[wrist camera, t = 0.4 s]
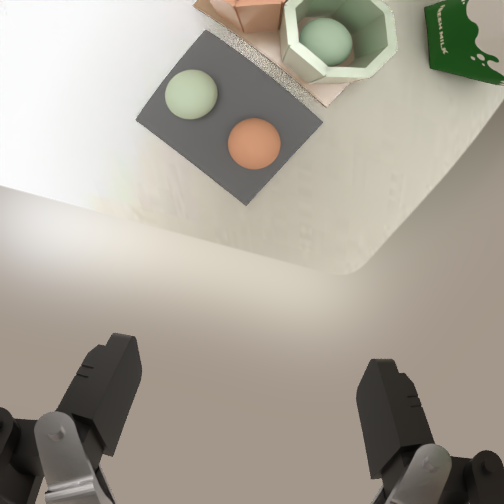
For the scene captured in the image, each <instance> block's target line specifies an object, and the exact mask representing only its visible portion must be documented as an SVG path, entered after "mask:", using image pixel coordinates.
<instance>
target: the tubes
mask: <svg viewBox="0 0 504 504" xmlns="http://www.w3.org/2000/svg"><path fill="white" fill-rule="evenodd" d="M193 6H194V7H195V8H197V9H198V10H200V11H201V12H203V13H204V14H206V15H208V16H209V17H211V18H212V19H214V20H215V21H217V22H218V23H220V24H221V25H223V26H224V27H226V28H227V29H229V30H230V31H231V32H233V33H234V34H236V35H237V36H239V37H240V38H241V39H243V40H244V41H245V42H247V43H248V44H250V45H251V46H252V47H254V48H255V49H256V50H258V51H259V52H260V53H262V54H263V55H264V56H265V57H267V58H268V59H269V60H271V61H272V62H273V63H274V64H276V65H277V66H278V67H279V68H281V69H282V70H283V71H284V72H286V73H287V74H288V75H289V76H290V77H292V78H293V79H294V80H295V81H296V82H298V83H299V84H300V85H301V86H302V87H303V88H305V89H306V90H307V91H308V92H309V93H310V94H311V95H313V96H314V97H315V98H316V99H317V100H318V101H319V102H320V103H321V104H323V105H324V106H325V107H327V106H328V105H329V104H330V103H331V102H332V101H333V100H334V99H335V98H336V97H337V96H338V95H339V94H340V93H341V92H342V91H343V90H344V89H345V88H346V87H347V86H348V85H349V84H350V83H351V81H357V80H362V79H368V78H371V77H372V76H373V75H374V74H375V73H376V72H377V71H378V70H379V69H380V68H381V67H382V66H383V65H384V64H385V63H386V62H387V61H388V60H389V59H390V58H391V57H392V56H393V55H394V54H395V53H396V52H397V51H396V50H398V46H397V37H396V28H395V20H394V13H393V12H392V9H391V8H390V7H389V6H388V5H387V4H386V3H384V2H383V1H382V0H197V1H196V2H195V4H194V5H193ZM318 18H329V19H333V20H336V21H338V22H339V23H341V24H342V25H344V26H345V27H346V29H347V30H348V31H349V33H350V35H351V38H352V50H351V53H350V55H349V56H348V58H347V59H346V60H344V61H343V62H342V63H340V64H338V65H335V66H327V65H326V64H325V63H324V62H323V61H321V60H320V59H319V58H318V57H317V56H316V55H314V54H313V53H312V52H311V51H310V50H308V49H307V48H306V47H305V46H304V45H302V44H301V43H300V42H299V36H300V32H301V30H302V29H303V27H304V26H305V25H306V24H307V23H308V22H310V21H312V20H314V19H318Z"/></svg>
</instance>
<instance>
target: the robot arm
mask: <svg viewBox="0 0 504 504" xmlns="http://www.w3.org/2000/svg"><path fill="white" fill-rule="evenodd" d="M76 374H77V375H76V376H75V377H74V379H73V380H72V382H71V384H70V386H69V388H68V389H67V391H66V393H65V395H64V397H63V399H62V401H61V403H60V405H59V406H58V408H57V409H56V411H55V412H49V413H46V414H44V415H43V416H41V417H40V418H39V420H25V419H14V418H13V417H12V415H11V414H10V413H9V412H8V411H7V410H6V409H4V408H1V407H0V504H35V501H36V498H37V495H38V492H39V489H40V486H41V483H42V480H43V477H45V479H46V482H47V486H48V491H47V492H45V501H46V504H117V502H116V500H115V497H114V495H113V493H112V491H111V489H110V487H109V484H108V482H107V480H106V477H105V475H104V473H103V470H102V468H101V465H100V460H101V457H102V454H105V455H108V456H112V457H113V455H114V452H115V449H116V446H117V444H118V441H119V438H120V435H121V432H122V429H123V427H124V424H125V421H126V419H127V416H128V413H129V410H130V408H131V405H132V402H133V400H134V397H135V394H136V392H137V389H138V387H139V384H140V381H141V376H142V365H141V361H140V356H139V351H138V345H137V340H136V338H135V337H134V336H130V335H124V334H118V333H113V334H112V335H111V337H110V339H109V340H108V342H107V344H106V346H104V345H97V346H96V347H95V348H94V349H92V350H91V351H90V352H89V353H88V354H87V356H86V357H85V359H84V361H83V363H82V366H81V367H80V368H79V370H78V371H77V373H76ZM356 401H357V407H358V412H359V417H360V422H361V427H362V431H363V437H364V442H365V447H366V453H367V458H368V464H369V470H370V476H371V479H379V478H382V480H383V485H382V486H381V488H380V489H379V491H378V493H377V494H376V496H375V498H374V499H373V501H372V502H371V504H469V503H470V504H504V467H503V464H502V461H501V459H500V458H499V456H498V455H497V454H496V453H494V452H492V451H487V450H485V451H481V452H479V453H478V454H477V455H475V456H474V457H473V458H472V459H469V458H460V457H453V456H450V455H449V453H448V451H447V450H446V449H444V448H443V447H442V446H440V445H437V444H435V442H434V440H433V437H432V434H431V431H430V428H429V425H428V422H427V419H426V416H425V413H424V411H423V408H422V407H421V402H420V399H419V398H418V394H417V391H416V389H415V386H414V383H413V382H412V381H411V380H410V379H409V378H408V377H407V375H406V374H405V373H399V372H398V369H397V366H396V364H395V361H394V360H393V359H371V360H370V362H369V364H368V366H367V369H366V371H365V373H364V375H363V377H362V379H361V382H360V384H359V386H358V389H357V395H356Z"/></svg>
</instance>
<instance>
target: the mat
mask: <svg viewBox="0 0 504 504" xmlns="http://www.w3.org/2000/svg"><path fill="white" fill-rule="evenodd" d="M185 70H200V71H203V72H205V73H207V74H208V75H209V76H210V77H211V78H212V79H213V80H214V82H215V84H216V86H217V91H218V96H217V101H216V103H215V105H214V107H213V108H212V110H211V111H210V112H209V113H207V114H206V115H204V116H203V117H200V118H197V119H183V118H180V117H178V116H176V115H175V114H173V113H172V112H171V111H170V109H169V108H168V106H167V104H166V100H165V91H166V88H167V85H168V83H169V82H170V80H171V79H172V78H173V77H174V76H175V75H177V74H178V73H180V72H182V71H185ZM250 118H259V119H263V120H265V121H267V122H269V123H270V124H272V125H273V126H274V127H275V129H276V130H277V132H278V134H279V136H280V141H281V146H280V151H279V154H278V156H277V158H276V159H275V160H274V161H273V162H272V163H271V164H270V165H268V166H266V167H264V168H261V169H248V168H244V167H242V166H240V165H239V164H237V163H236V162H235V161H234V159H233V158H232V157H231V155H230V153H229V149H228V138H229V135H230V133H231V131H232V129H233V128H234V127H235V126H236V125H237V124H238V123H239V122H241V121H243V120H245V119H250ZM136 121H138V122H139V123H140V124H142V125H143V126H144V127H146V128H147V129H148V130H150V131H151V132H152V133H154V134H155V135H156V136H158V137H159V138H160V139H161V140H163V141H164V142H165V143H167V144H168V145H169V146H171V147H172V148H173V149H175V150H176V151H177V152H178V153H180V154H181V155H182V156H184V157H185V158H186V159H187V160H189V161H190V162H191V163H193V164H194V165H195V166H196V167H198V168H199V169H200V170H202V171H203V172H204V173H205V174H207V175H208V176H209V177H210V178H212V179H213V180H214V181H215V182H217V183H218V184H219V185H221V186H222V187H223V188H224V189H226V190H227V191H228V192H229V193H231V194H232V195H233V196H234V197H236V198H237V199H238V200H239V201H241V202H242V203H243V204H244V205H246V206H247V204H248V203H249V202H250V201H251V200H252V199H253V198H254V197H255V196H256V194H257V193H258V192H259V191H260V190H261V189H262V188H263V187H264V186H265V185H266V183H267V182H268V181H269V180H270V179H271V178H272V177H273V176H274V175H275V174H276V172H277V171H278V170H279V169H280V168H281V167H282V166H283V165H284V164H285V163H286V162H287V161H288V159H289V158H290V157H291V156H292V155H293V154H294V153H295V152H296V151H297V150H298V149H299V148H300V147H301V145H302V144H303V143H304V142H305V141H306V140H307V139H308V138H309V137H310V136H311V135H312V134H313V133H314V132H315V131H316V130H317V128H318V127H319V126H320V125H321V124H322V123H323V122H322V121H321V120H320V119H319V118H318V117H317V116H316V115H314V114H313V113H312V112H311V111H310V110H309V109H308V108H307V107H305V106H304V105H303V104H302V103H301V102H300V101H299V100H297V99H296V98H295V97H294V96H293V95H292V94H290V93H289V92H288V91H287V90H286V89H284V88H283V87H282V86H281V85H280V84H278V83H277V82H276V81H275V80H274V79H272V78H271V77H270V76H269V75H267V74H266V73H265V72H263V71H262V70H261V69H260V68H258V67H257V66H256V65H254V64H253V63H252V62H251V61H249V60H248V59H247V58H245V57H244V56H243V55H241V54H240V53H239V52H237V51H236V50H234V49H233V48H232V47H230V46H229V45H227V44H226V43H225V42H223V41H222V40H220V39H219V38H217V37H216V36H215V35H213V34H212V33H210V32H209V31H207V30H205V31H204V32H203V33H202V35H201V36H200V37H199V38H198V39H197V40H196V41H195V43H194V44H193V45H192V46H191V47H190V48H189V50H188V51H187V52H186V53H185V54H184V56H183V57H182V58H181V59H180V60H179V62H178V63H177V64H176V65H175V67H174V68H173V69H172V70H171V72H170V73H169V74H168V76H167V77H166V78H165V79H164V81H163V82H162V83H161V85H160V86H159V87H158V89H157V90H156V91H155V93H154V94H153V95H152V97H151V98H150V100H149V101H148V102H147V104H146V105H145V107H144V108H143V109H142V111H141V112H140V114H139V115H138V117H137V118H136Z"/></svg>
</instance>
